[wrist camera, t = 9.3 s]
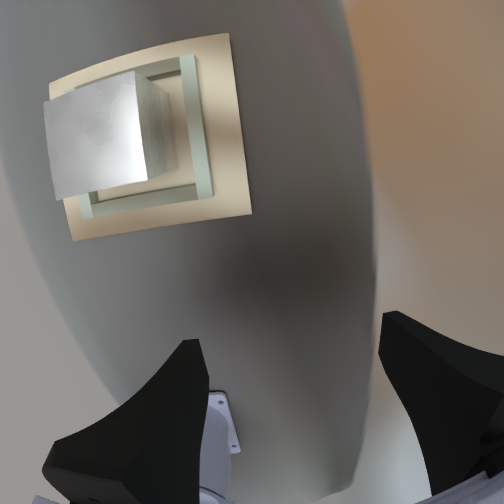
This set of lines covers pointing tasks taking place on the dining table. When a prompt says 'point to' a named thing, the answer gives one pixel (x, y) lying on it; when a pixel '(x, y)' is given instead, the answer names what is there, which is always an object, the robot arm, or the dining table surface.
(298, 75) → the dining table surface
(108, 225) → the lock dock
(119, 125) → the block
